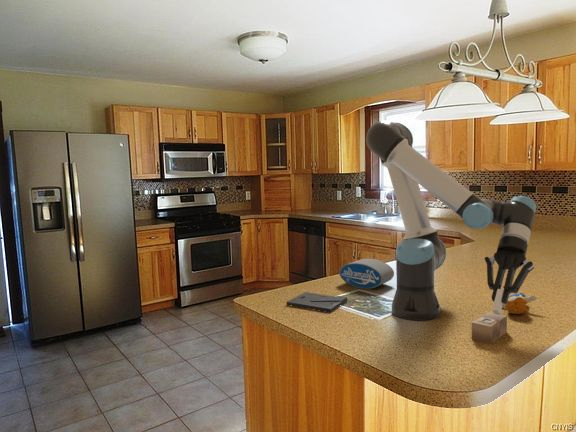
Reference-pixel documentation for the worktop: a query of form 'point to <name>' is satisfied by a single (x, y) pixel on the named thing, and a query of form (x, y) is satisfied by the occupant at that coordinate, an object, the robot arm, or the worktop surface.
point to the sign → (366, 273)
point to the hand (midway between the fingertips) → (496, 312)
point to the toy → (518, 303)
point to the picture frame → (317, 301)
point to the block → (489, 327)
